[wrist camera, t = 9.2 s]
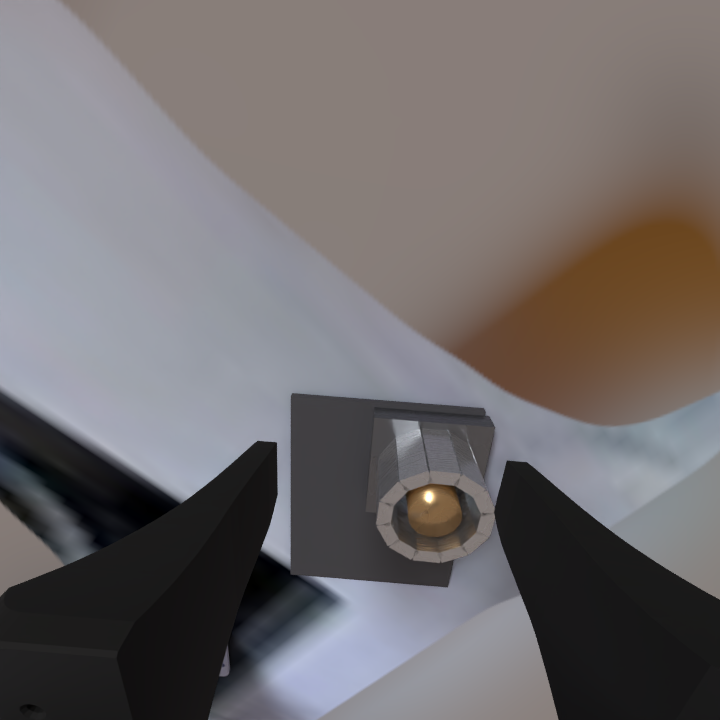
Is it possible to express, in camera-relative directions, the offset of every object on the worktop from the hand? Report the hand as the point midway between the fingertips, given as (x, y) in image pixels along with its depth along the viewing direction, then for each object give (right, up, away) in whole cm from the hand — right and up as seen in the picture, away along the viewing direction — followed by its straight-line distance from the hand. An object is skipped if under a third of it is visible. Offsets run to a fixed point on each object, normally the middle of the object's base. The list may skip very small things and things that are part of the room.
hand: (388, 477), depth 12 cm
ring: (+3, -3, +10) cm, 11 cm away
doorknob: (+3, -2, +11) cm, 12 cm away
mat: (0, -5, +13) cm, 14 cm away
